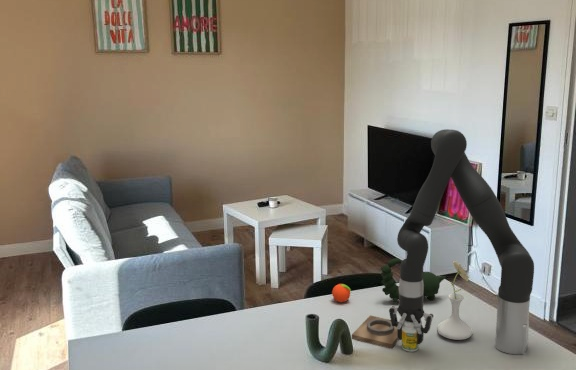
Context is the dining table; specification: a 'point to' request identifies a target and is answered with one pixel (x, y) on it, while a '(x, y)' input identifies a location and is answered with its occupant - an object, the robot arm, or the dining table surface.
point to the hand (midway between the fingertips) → (410, 340)
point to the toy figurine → (391, 288)
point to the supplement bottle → (409, 337)
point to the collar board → (377, 332)
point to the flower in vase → (455, 313)
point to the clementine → (341, 293)
